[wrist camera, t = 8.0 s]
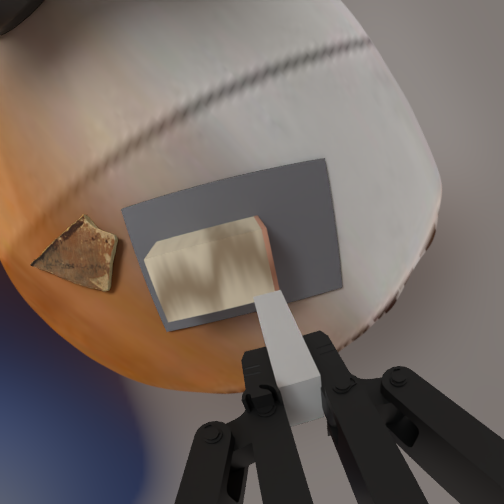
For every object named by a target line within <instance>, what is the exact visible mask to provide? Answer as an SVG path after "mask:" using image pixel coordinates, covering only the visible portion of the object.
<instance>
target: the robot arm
mask: <svg viewBox="0 0 504 504" xmlns="http://www.w3.org/2000/svg"><path fill="white" fill-rule="evenodd" d="M43 1H44V0H0V35H2V34H4V33H6V32H8V31H9V30H11V29H13V28H14V27H15V26H17V25H18V24H19V23H21V22H22V21H23V20H24V19H25V18H27V17H28V16H29V15H30V14H31V13H32V12H33V11H34V10H35V9H36V8H37V7H38V6H39V5H40V4H41V3H42V2H43ZM253 299H254V302H255V306H256V310H257V314H258V318H259V322H260V326H261V330H262V334H263V337H264V341H265V345H266V347H262V348H258V349H254V350H250V351H246V352H245V353H244V355H243V358H242V360H241V361H242V368H243V374H244V381H245V388H246V390H245V391H244V393H243V395H242V402H243V404H244V407H245V409H246V410H245V412H244V413H243V414H242V415H241V416H240V417H238V418H237V419H235V420H233V421H231V422H229V423H227V424H225V423H223V422H218V421H213V422H208V423H206V424H204V425H202V426H201V427H200V428H199V429H198V430H197V432H196V434H195V436H194V440H193V443H192V446H191V450H190V453H189V457H188V460H187V463H186V467H185V470H184V474H183V477H182V481H181V483H180V487H179V490H178V494H177V497H176V500H175V504H243V500H244V494H245V487H246V481H247V474H248V467H249V465H250V464H252V463H254V462H256V468H257V474H258V479H259V485H260V490H261V495H262V501H263V504H313V501H312V498H311V495H310V491H309V488H308V485H307V481H306V478H305V475H304V472H303V468H302V465H301V461H300V458H299V454H298V451H297V448H296V444H295V441H294V438H293V434H292V431H291V427H292V426H296V425H299V424H303V423H306V422H309V421H313V420H316V419H319V418H322V417H324V414H325V416H326V418H327V430H328V436H330V435H331V437H332V440H333V442H334V445H335V447H336V450H337V452H338V455H339V457H340V460H341V462H342V465H343V467H344V470H345V472H346V475H347V477H348V480H349V482H350V485H351V487H352V490H353V493H354V495H355V497H356V500H357V502H358V504H428V502H427V500H426V498H425V496H424V494H423V492H422V490H421V489H420V487H419V485H418V483H417V481H416V479H415V477H414V475H413V474H412V472H411V470H410V468H409V466H408V464H407V463H406V461H405V459H404V457H403V455H402V454H401V452H400V450H399V448H398V446H397V445H396V443H397V444H398V445H399V446H400V447H401V448H402V449H403V450H404V451H405V452H406V453H407V454H408V455H409V456H410V457H411V458H412V459H413V460H414V461H415V462H416V463H417V464H418V465H419V466H421V468H422V469H423V470H424V471H426V472H427V473H428V474H429V475H430V476H431V477H432V478H433V479H434V480H435V481H436V482H437V483H438V484H439V485H440V486H442V487H443V488H444V489H445V490H446V491H447V492H448V493H449V494H450V495H451V496H452V497H454V498H455V499H456V500H457V501H458V502H459V503H460V504H504V439H502V438H501V437H500V436H498V435H497V434H496V433H494V432H493V431H492V430H490V429H489V428H487V427H486V426H485V425H484V424H482V423H481V422H480V421H478V420H477V419H476V418H474V417H473V416H472V415H470V414H469V413H468V412H466V411H465V410H464V409H462V408H461V407H460V406H458V405H457V404H456V403H454V402H453V401H452V400H451V399H449V398H448V397H447V396H445V395H444V394H442V393H441V392H440V391H439V390H437V389H436V388H435V387H433V386H432V385H431V384H429V383H428V382H427V381H425V380H424V379H423V378H421V377H420V376H419V375H417V374H416V373H415V372H413V371H412V370H411V369H409V368H407V367H401V366H397V367H392V368H391V369H388V370H387V371H386V372H385V373H384V374H383V377H382V378H375V379H360V378H357V377H356V376H354V375H352V374H351V373H350V372H349V371H348V369H347V367H346V366H345V364H344V362H343V360H342V359H341V357H340V355H339V354H338V352H337V350H336V348H335V347H334V345H333V344H332V342H331V340H330V338H329V337H328V335H326V334H325V333H323V332H321V331H317V332H313V333H310V334H307V335H303V336H302V335H301V332H300V330H299V328H298V326H297V324H296V322H295V320H294V317H293V315H292V313H291V311H290V309H289V307H288V305H287V302H286V300H285V298H284V296H283V294H282V292H281V290H278V291H274V292H270V293H267V294H263V295H259V296H255V297H253Z"/></svg>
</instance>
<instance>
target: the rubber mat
mask: <svg viewBox="0 0 504 504" xmlns="http://www.w3.org/2000/svg"><path fill="white" fill-rule="evenodd" d="M121 211H122V214H123V217H124V221H125V224H126V227H127V230H128V233H129V236H130V239H131V242H132V245H133V248H134V251H135V254H136V256H137V259H138V262H139V265H140V268H141V270H142V273H143V276H144V278H145V281H146V283H147V286H148V288H149V291H150V293H151V296H152V298H153V301H154V303H155V306H156V308H157V310H158V313H159V315H160V317H161V320H162V322H163V324H164V327H165V329H166V331H167V332H168V331H173V330H178V329H183V328H187V327H192V326H197V325H201V324H206V323H210V322H214V321H219V320H223V319H227V318H232V317H236V316H240V315H244V314H248V313H252V312H256V311H257V310H256V306H255V302H253V303H250V304H246V305H242V306H237V307H233V308H229V309H225V310H221V311H217V312H212V313H208V314H204V315H199V316H195V317H190V318H186V319H181V320H177V321H172V322H168V320H167V318H166V316H165V313H164V311H163V308H162V306H161V304H160V301H159V299H158V296H157V294H156V291H155V289H154V286H153V283H152V281H151V278H150V276H149V273H148V270H147V267H146V265H145V262H144V259H145V257H146V256H147V254H148V253H149V251H150V250H151V248H152V247H153V246H154V244H155V243H156V242H157V241H161V240H164V239H168V238H172V237H175V236H179V235H183V234H187V233H190V232H194V231H198V230H202V229H205V228H209V227H213V226H217V225H221V224H225V223H229V222H233V221H237V220H241V219H245V218H249V217H253V216H257V215H258V217H259V218H260V219H261V221H262V222H263V224H264V225H265V227H266V228H267V233H268V237H269V242H270V247H271V251H272V256H273V261H274V266H275V270H276V275H277V280H278V285H279V290H281V292H282V294H283V296H284V298H285V300H286V302H287V303H290V302H294V301H297V300H301V299H304V298H308V297H311V296H315V295H318V294H322V293H325V292H328V291H332V290H335V289H338V288H342V278H341V268H340V258H339V249H338V241H337V233H336V225H335V218H334V211H333V204H332V198H331V191H330V185H329V180H328V174H327V168H326V163H325V158H323V159H317V160H311V161H306V162H300V163H295V164H290V165H285V166H280V167H275V168H270V169H266V170H261V171H257V172H252V173H248V174H244V175H239V176H235V177H231V178H227V179H223V180H219V181H215V182H211V183H207V184H203V185H200V186H196V187H192V188H189V189H185V190H181V191H178V192H174V193H171V194H168V195H164V196H161V197H158V198H154V199H151V200H148V201H145V202H141V203H138V204H135V205H132V206H129V207H126V208H123V209H121Z"/></svg>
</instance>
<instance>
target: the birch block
mask: <svg viewBox="0 0 504 504" xmlns="http://www.w3.org/2000/svg"><path fill="white" fill-rule="evenodd" d="M144 262H145V265H146V267H147V270H148V273H149V276H150V278H151V281H152V283H153V286H154V289H155V291H156V294H157V296H158V299H159V301H160V304H161V306H162V308H163V311H164V313H165V316H166V318H167V320H168V322H172V321H177V320H181V319H186V318H190V317H195V316H199V315H204V314H208V313H212V312H217V311H221V310H225V309H229V308H233V307H237V306H242V305H246V304H250V303H253V302H254V299H253V297H255V296H259V295H263V294H267V293H270V292H274V291H278V290H279V285H278V280H277V275H276V270H275V266H274V261H273V256H272V251H271V247H270V242H269V237H268V233H267V228H266V227H265V225H264V224H263V222H262V221H261V219H260V218H259V217H258V215H257V216H253V217H249V218H245V219H241V220H237V221H233V222H229V223H225V224H221V225H217V226H213V227H209V228H205V229H202V230H198V231H194V232H190V233H187V234H183V235H179V236H175V237H172V238H168V239H164V240H161V241H157V242H156V243H155V244H154V246H153V247H152V248H151V250H150V251H149V253H148V254H147V256H146V257H145V259H144Z"/></svg>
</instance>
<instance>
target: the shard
mask: <svg viewBox="0 0 504 504" xmlns="http://www.w3.org/2000/svg"><path fill="white" fill-rule="evenodd" d="M117 243H118V238H117V236H116V235H113V234H111V233H107V232H105V231H102V230H100V229H98V228H97V226H96V225H95V224H94V223H93V221H91V220H90V218H89V217H88V216H87V215H85V214H83V215H82V216H81V218H80V219H78V220H77V221H76V222H75V223H74V224H72V225H71V226H70V227H69V228H68V229H67V230H66V231H64V232H63V233H62V234H61V235H60V236H59V237H58V238H57V239H55V240H54V241H53V242H52V243H51V244H50V245H49V246H48V247H47V248H46V249H45V250H44V251H43V253H42V254H41V255H40V256H39V257H38V258H37V259H35V260H34V261H33V262H32V263H31V266H34V267H36V268H38V269H41V270H44V271H48V272H50V273H52V274H55V275H57V276H58V277H61V278H63V279H66V280H69V281H71V282H73V283H76V284H80V285H82V286H85V287H89V288H95V289H98V290H101V291H109V290H110V288H111V278H112V267H113V261H114V257H115V253H116V246H117Z"/></svg>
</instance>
